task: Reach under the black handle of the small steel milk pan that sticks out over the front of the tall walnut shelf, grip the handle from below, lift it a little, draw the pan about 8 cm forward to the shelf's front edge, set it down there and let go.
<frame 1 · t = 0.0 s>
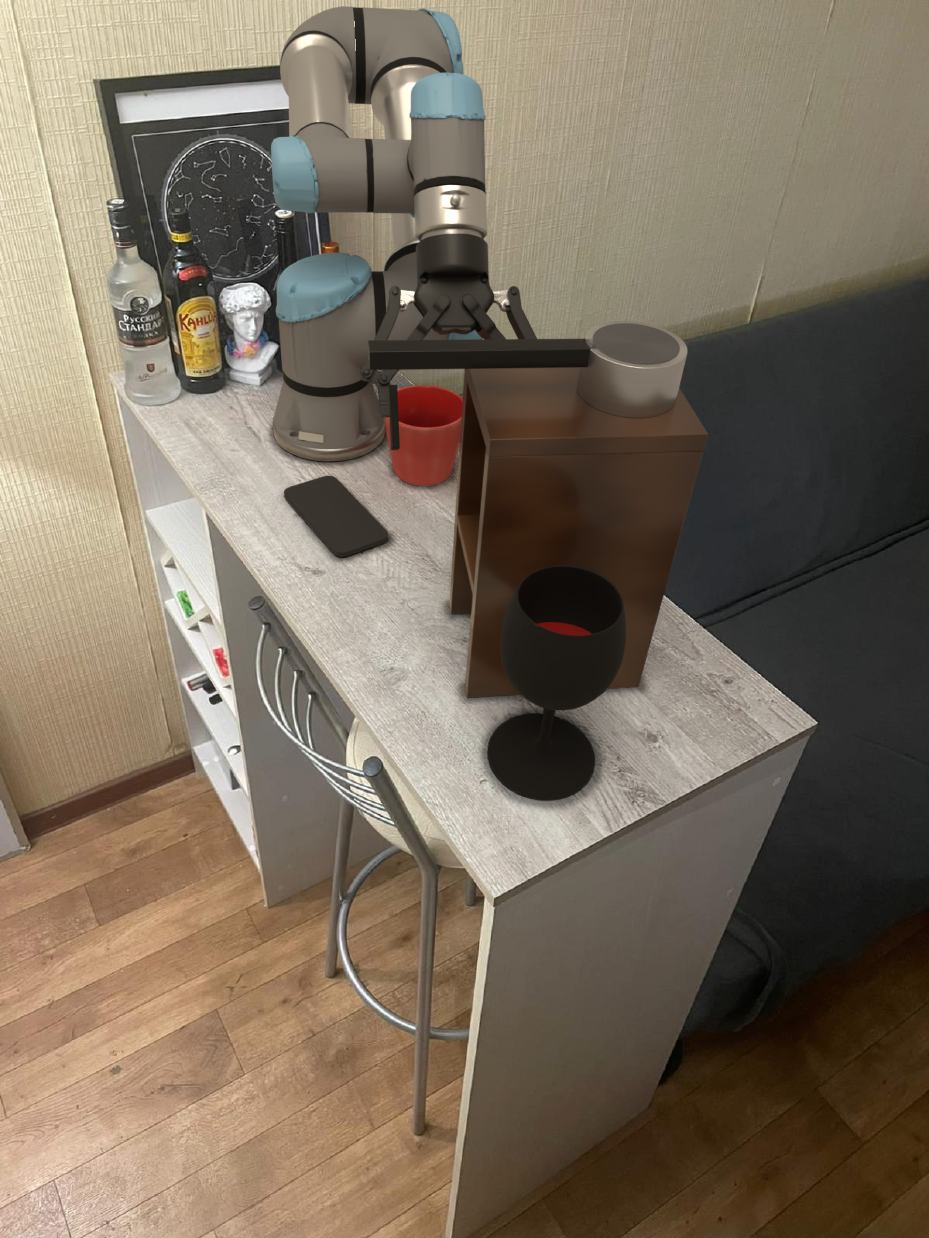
hand: (458, 448, 97), 15 cm above the table, tool tilted 35°, fingers open, 13 cm apart
wine glass: (540, 757, 87), on the table
flower pot: (423, 471, 121), on the table
pan: (626, 392, 78), point 30 cm above the table, touching shelf
shelf: (540, 644, 98), on the table
phone: (335, 518, 112), on the table
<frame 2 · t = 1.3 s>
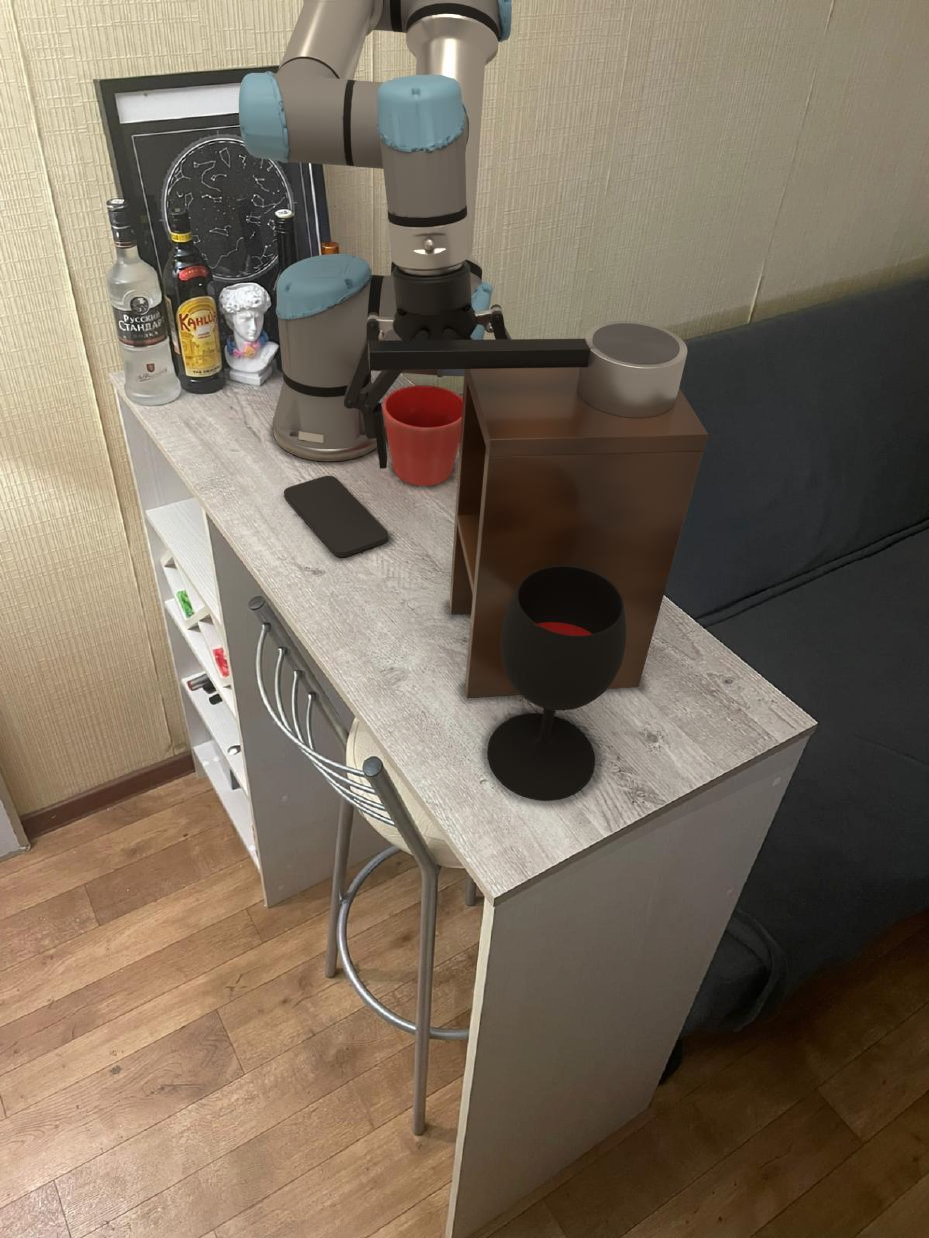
hand: (444, 459, 101), 12 cm above the table, tool pointing down, fingers open, 13 cm apart
nothing on the table moved.
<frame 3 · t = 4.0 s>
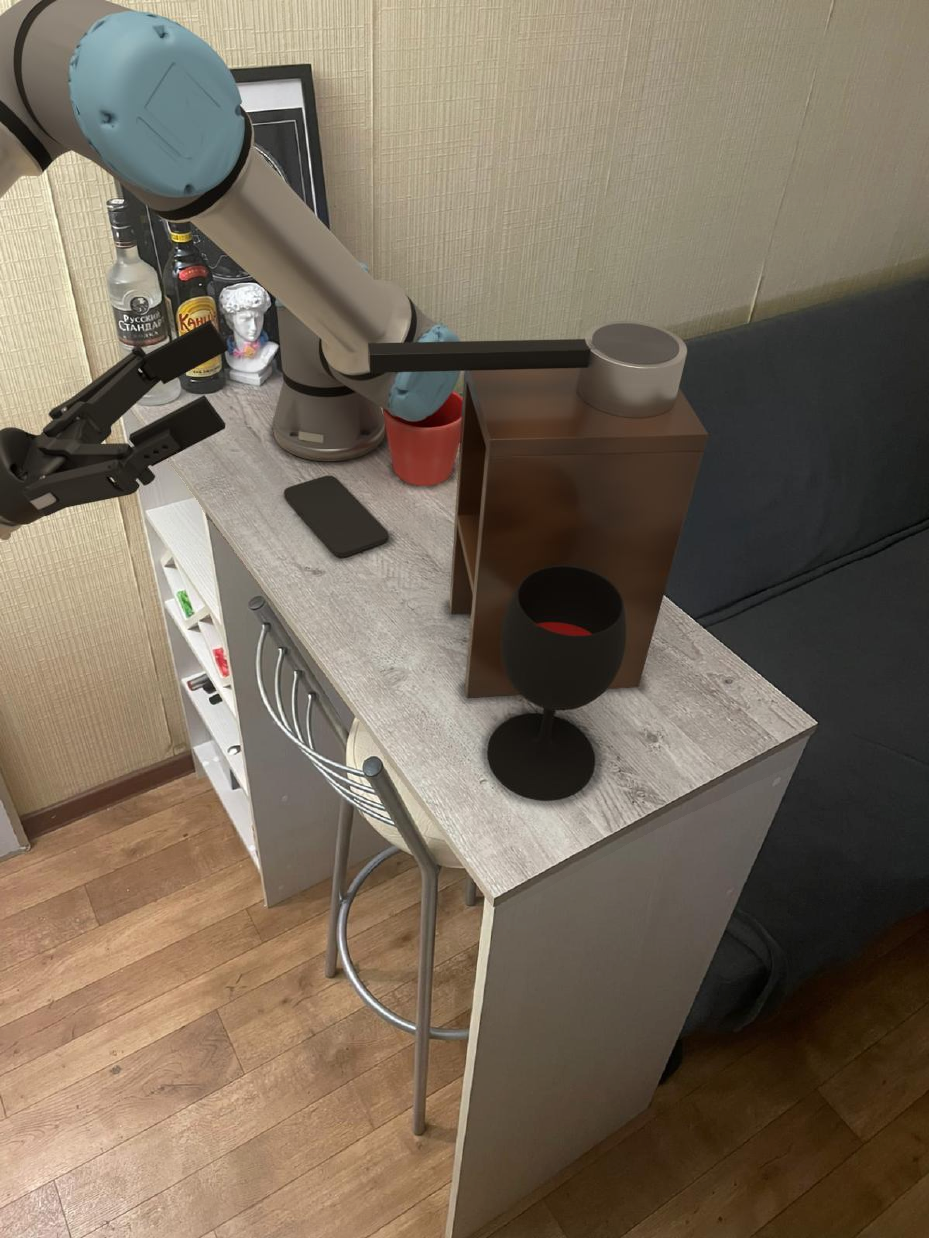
hand: (217, 370, 73), 32 cm above the table, tool pointing upward, fingers open, 13 cm apart
nothing on the table moved.
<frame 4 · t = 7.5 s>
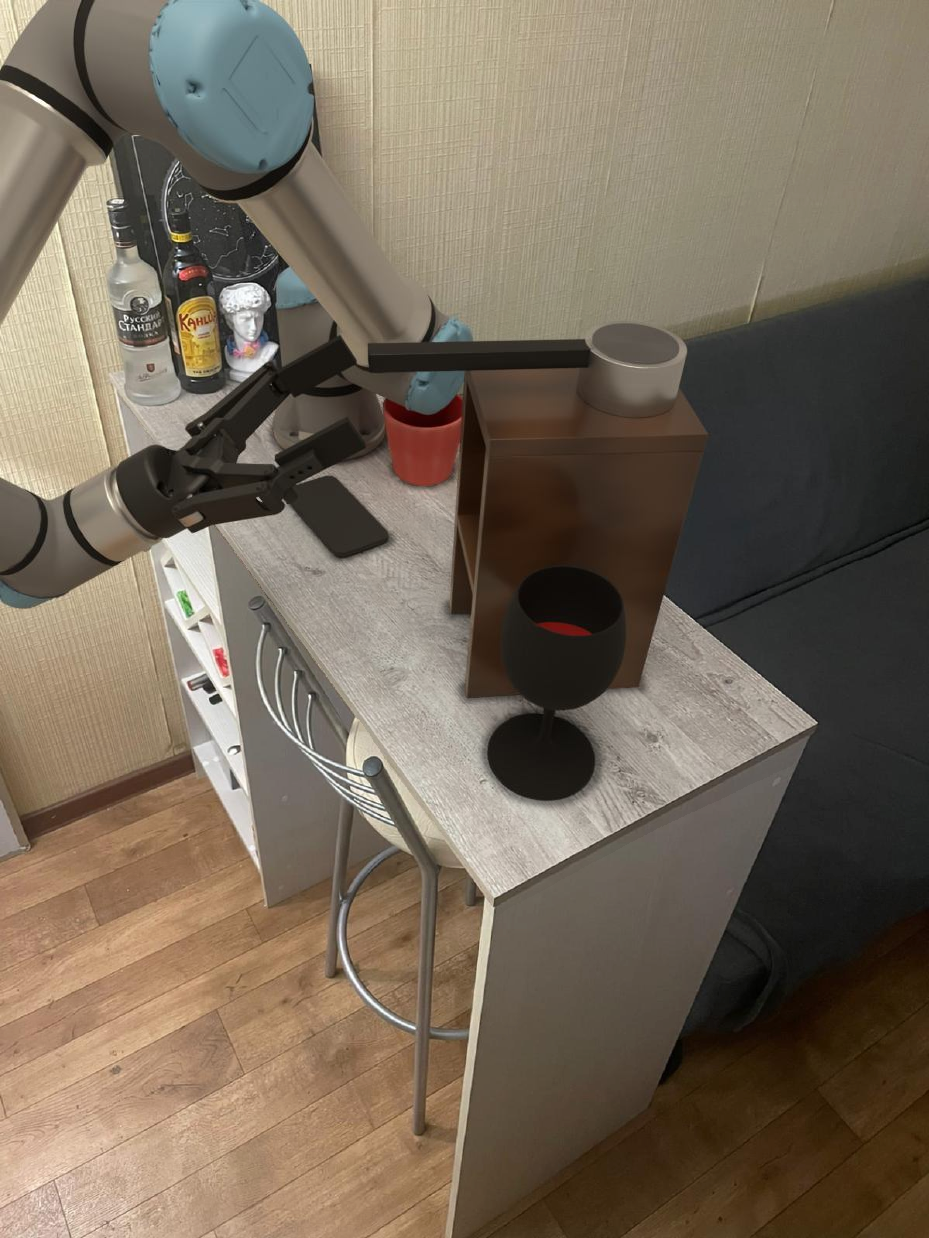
hand: (352, 387, 74), 31 cm above the table, tool pointing upward, fingers open, 13 cm apart
nothing on the table moved.
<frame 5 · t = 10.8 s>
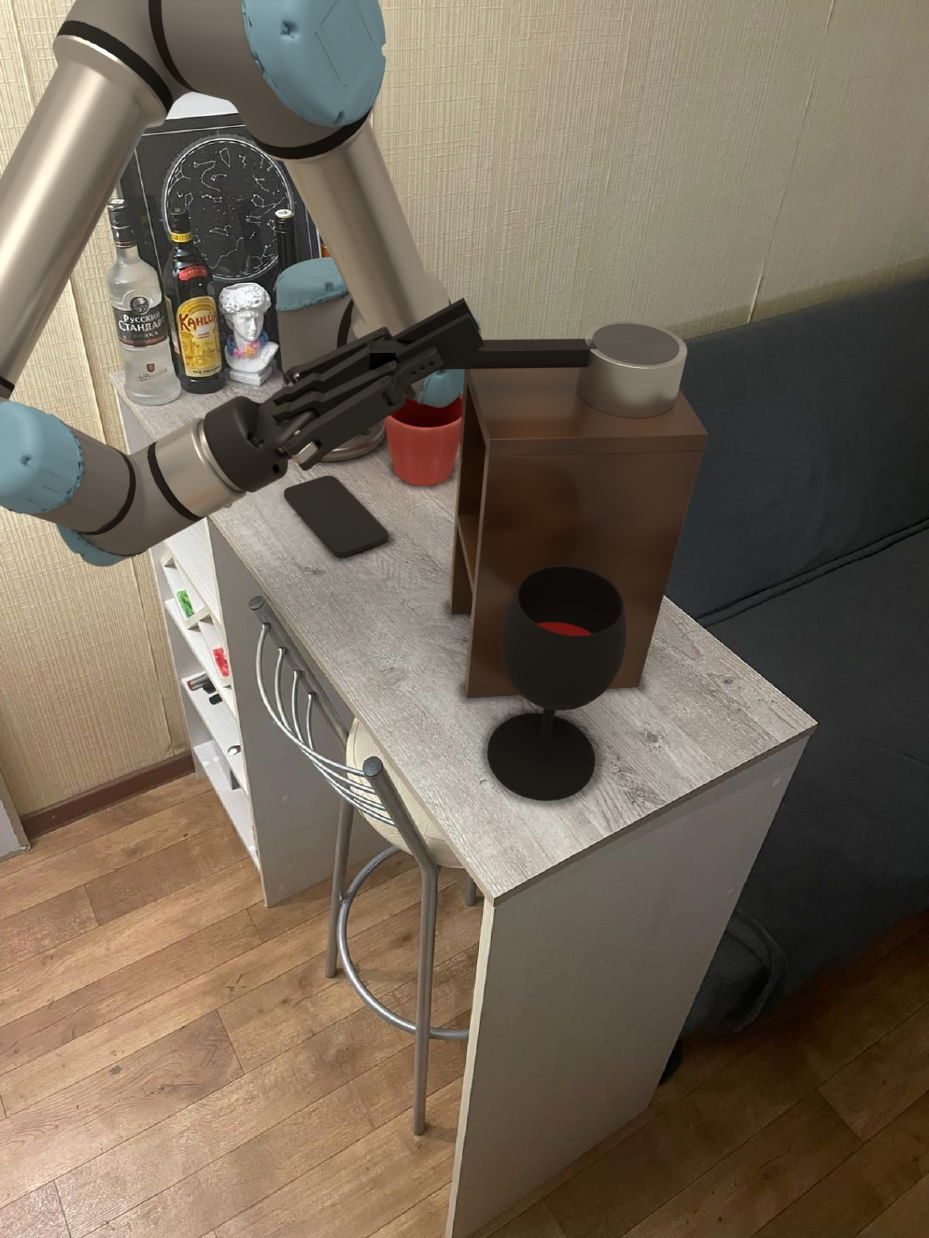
hand: (473, 321, 72), 36 cm above the table, tool pointing upward, fingers closed on pan, 2 cm apart
pan: (626, 392, 78), point 30 cm above the table, touching gripper, shelf
everything else where it was.
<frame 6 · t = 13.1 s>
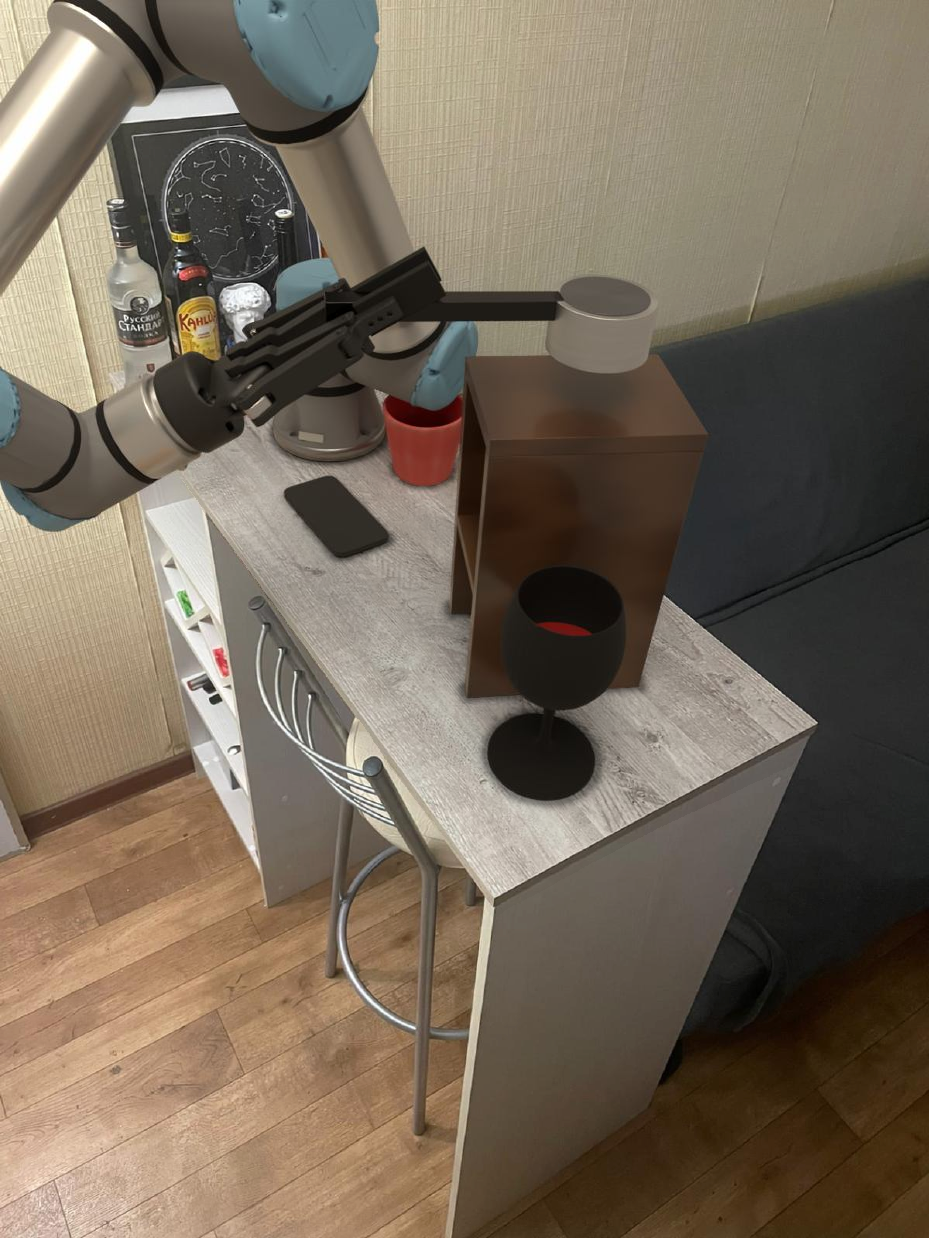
hand: (434, 271, 69), 40 cm above the table, tool pointing upward, fingers closed on pan, 2 cm apart
pan: (596, 349, 75), point 34 cm above the table, touching gripper
everything else where it was.
when the fingers open (36 cm above the table, at t = 15.7 s): pan stays where it is, resting on shelf.
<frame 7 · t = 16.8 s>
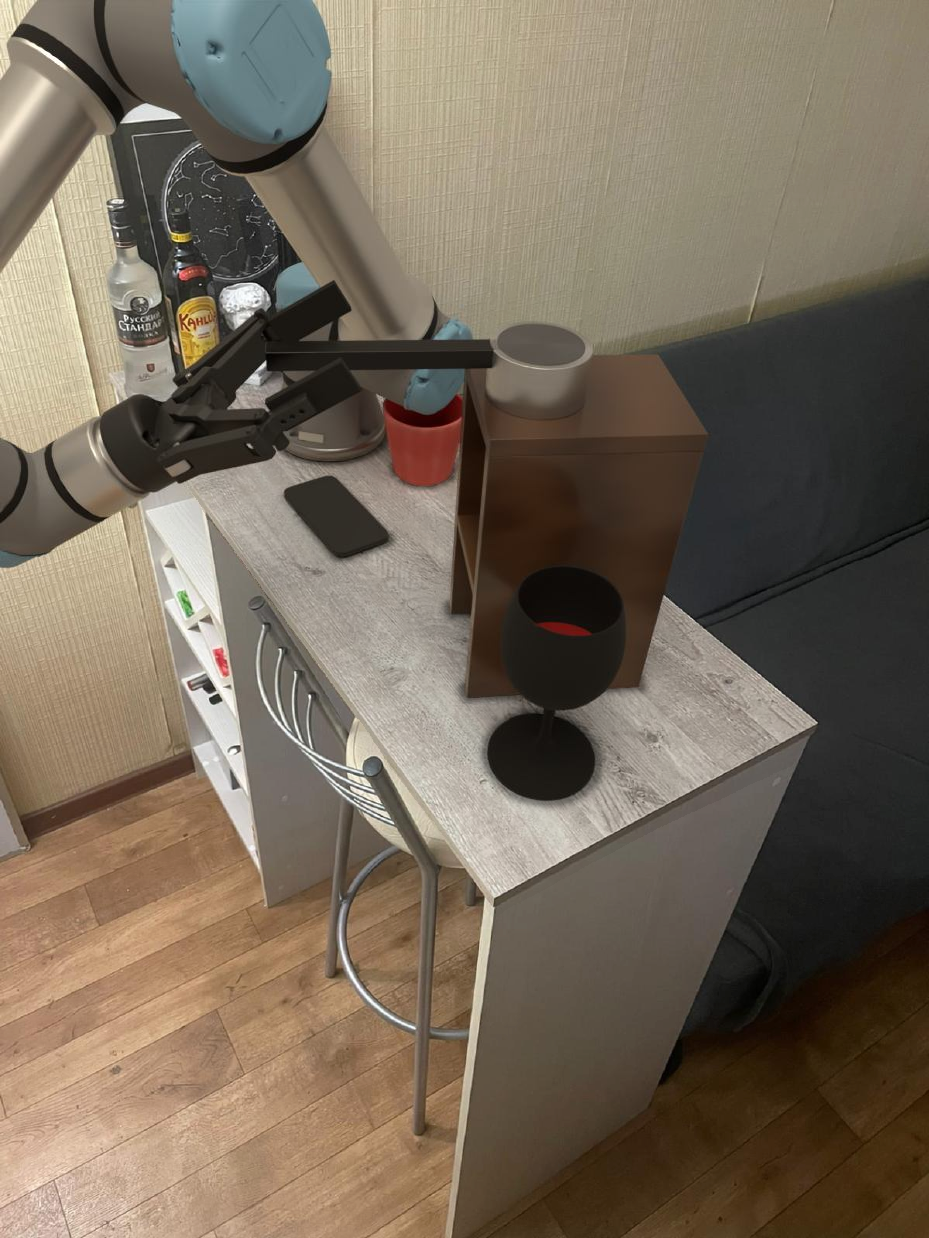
hand: (347, 331, 71), 36 cm above the table, tool pointing upward, fingers open, 13 cm apart
pan: (535, 394, 77), point 30 cm above the table, touching shelf
everything else where it was.
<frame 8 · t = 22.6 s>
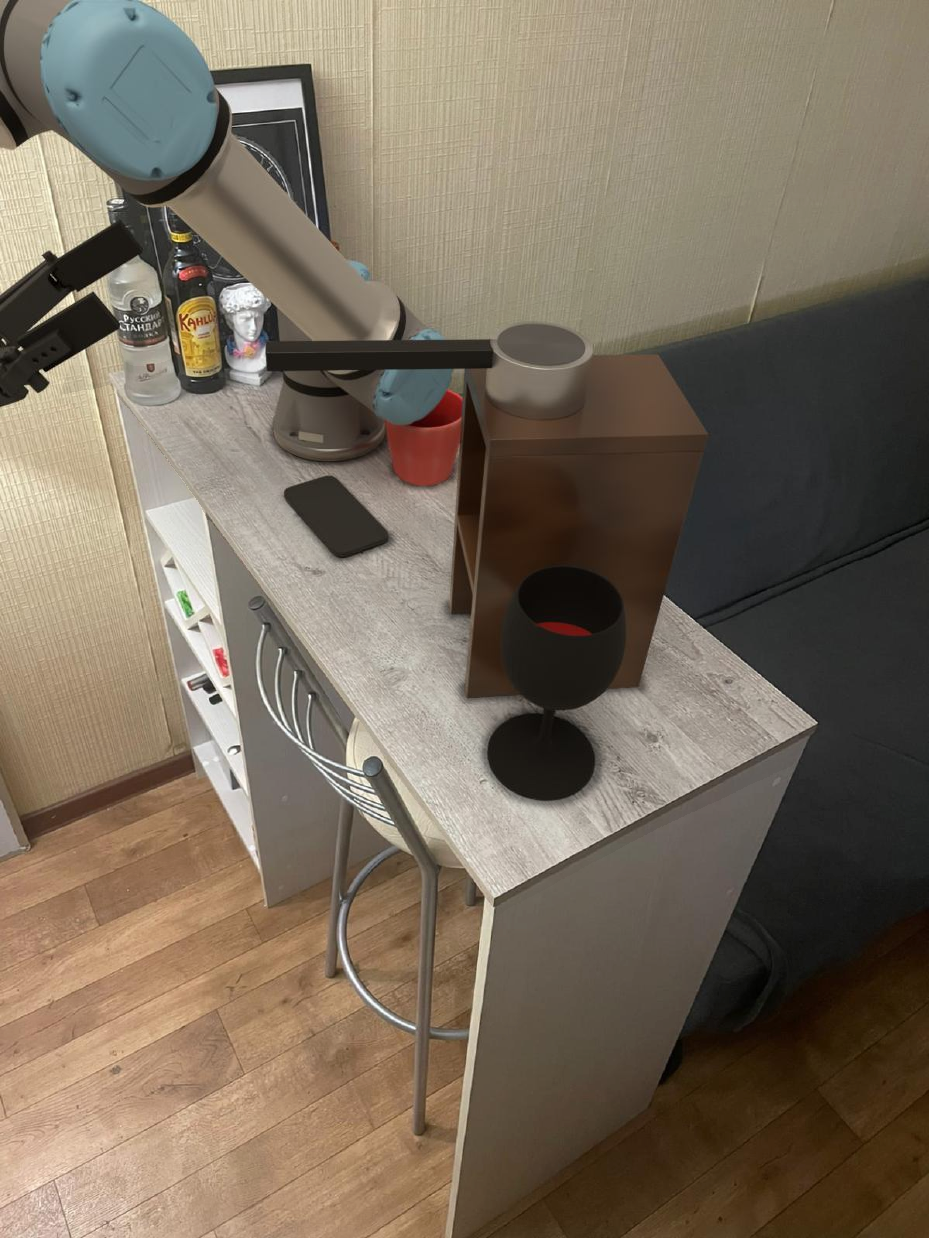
hand: (120, 270, 67), 40 cm above the table, tool pointing upward, fingers open, 13 cm apart
nothing on the table moved.
at the end: pan inside the target area (0.5 cm from its centre), point 30.0 cm above the table; pan tilted 0°; the gripper is holding nothing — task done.
